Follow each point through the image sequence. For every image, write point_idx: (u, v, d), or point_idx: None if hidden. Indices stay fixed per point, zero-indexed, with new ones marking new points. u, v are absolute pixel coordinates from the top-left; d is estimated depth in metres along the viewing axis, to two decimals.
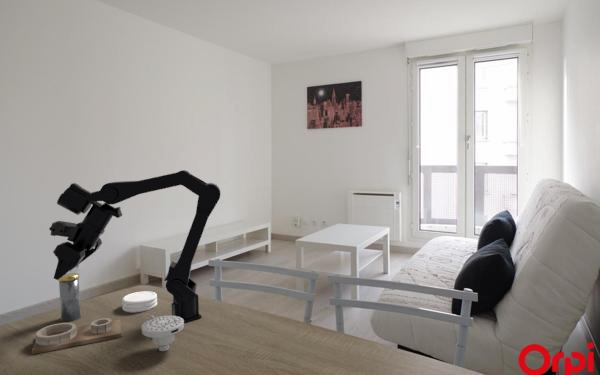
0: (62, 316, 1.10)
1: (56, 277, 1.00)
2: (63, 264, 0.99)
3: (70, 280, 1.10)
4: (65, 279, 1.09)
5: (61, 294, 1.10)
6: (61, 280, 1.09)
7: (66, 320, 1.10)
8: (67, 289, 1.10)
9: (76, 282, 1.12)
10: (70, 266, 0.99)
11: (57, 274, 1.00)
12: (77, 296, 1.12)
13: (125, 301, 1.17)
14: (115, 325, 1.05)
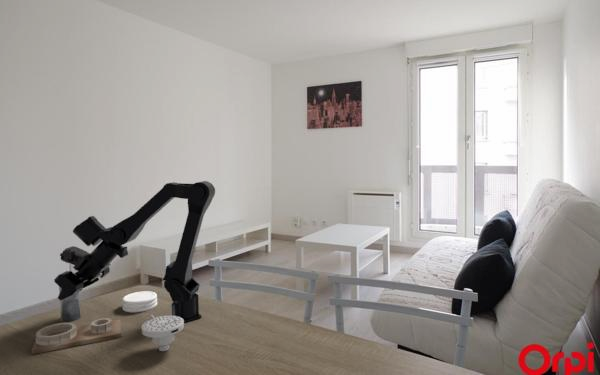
0: (62, 316, 1.10)
1: (59, 298, 1.09)
2: None
3: None
4: None
5: None
6: None
7: (66, 320, 1.10)
8: None
9: None
10: None
11: (60, 295, 1.09)
12: (77, 295, 1.12)
13: (125, 301, 1.17)
14: (115, 325, 1.05)
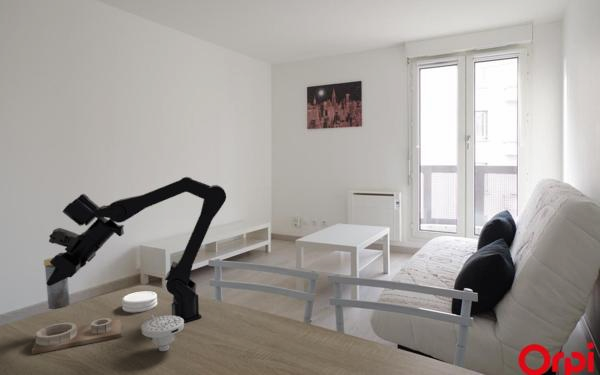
0: (51, 303, 1.02)
1: (49, 283, 1.00)
2: (59, 271, 1.00)
3: None
4: None
5: None
6: (49, 264, 1.00)
7: (56, 307, 1.02)
8: None
9: None
10: (65, 275, 1.00)
11: (50, 280, 1.00)
12: (67, 280, 1.04)
13: (125, 301, 1.17)
14: (115, 325, 1.05)
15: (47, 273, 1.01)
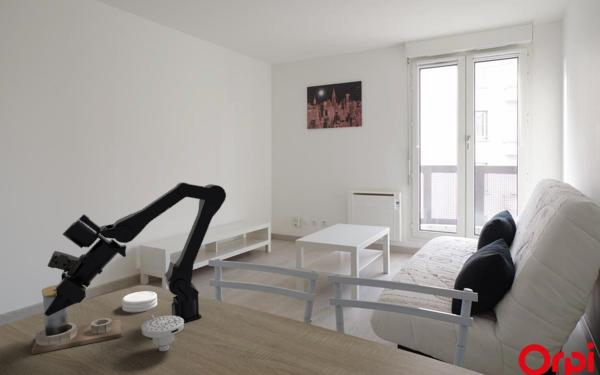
0: None
1: (47, 313, 0.93)
2: (60, 300, 0.93)
3: None
4: (56, 293, 0.95)
5: None
6: (50, 294, 0.94)
7: None
8: None
9: None
10: (68, 303, 0.93)
11: (49, 310, 0.93)
12: (66, 310, 0.98)
13: (125, 301, 1.17)
14: (115, 325, 1.05)
15: (47, 304, 0.95)
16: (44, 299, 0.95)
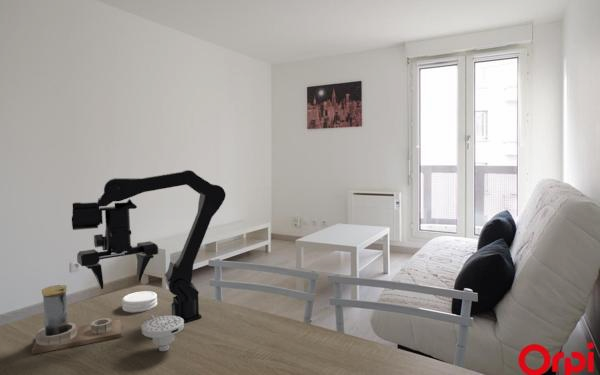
0: None
1: (100, 287, 1.01)
2: None
3: (61, 293, 0.96)
4: (56, 292, 0.95)
5: (49, 310, 0.95)
6: (50, 294, 0.95)
7: None
8: (57, 303, 0.96)
9: (65, 295, 0.98)
10: (95, 271, 0.98)
11: (98, 283, 1.00)
12: (66, 310, 0.98)
13: (125, 301, 1.17)
14: (115, 325, 1.05)
15: (47, 304, 0.95)
16: (44, 299, 0.95)
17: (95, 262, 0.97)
